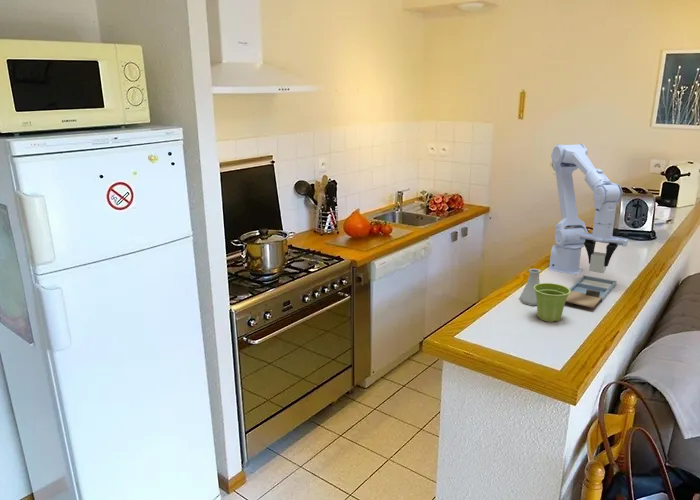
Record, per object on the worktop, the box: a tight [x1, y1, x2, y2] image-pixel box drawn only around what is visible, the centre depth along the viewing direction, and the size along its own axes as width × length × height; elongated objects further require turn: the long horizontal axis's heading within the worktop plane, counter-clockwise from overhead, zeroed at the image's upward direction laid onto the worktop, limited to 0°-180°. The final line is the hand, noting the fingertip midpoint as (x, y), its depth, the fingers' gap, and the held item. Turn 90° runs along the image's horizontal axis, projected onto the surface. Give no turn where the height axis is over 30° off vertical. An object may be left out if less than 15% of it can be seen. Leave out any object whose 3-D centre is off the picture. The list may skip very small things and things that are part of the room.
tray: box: [569, 274, 617, 303], centre depth 168 cm, size 10×19×2 cm, turn 142°
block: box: [588, 251, 607, 274], centre depth 169 cm, size 4×4×6 cm
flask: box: [518, 268, 542, 307], centre depth 158 cm, size 7×7×10 cm
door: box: [565, 289, 602, 309], centre depth 156 cm, size 10×9×2 cm
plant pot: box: [534, 282, 570, 323], centre depth 147 cm, size 9×9×9 cm
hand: (598, 264), depth 169 cm, fingers closed on block, 4 cm apart
